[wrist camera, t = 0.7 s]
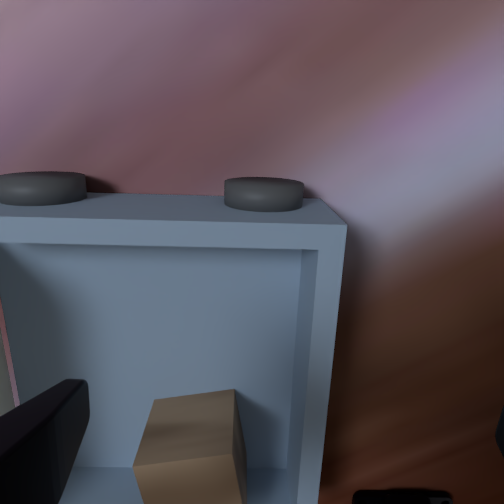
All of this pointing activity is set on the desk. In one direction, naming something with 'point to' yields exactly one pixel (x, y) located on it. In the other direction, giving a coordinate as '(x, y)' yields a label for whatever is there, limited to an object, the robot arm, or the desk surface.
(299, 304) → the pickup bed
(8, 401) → the tall thin white panel
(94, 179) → the desk surface
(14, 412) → the robot arm
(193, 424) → the brown cube
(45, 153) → the desk surface
